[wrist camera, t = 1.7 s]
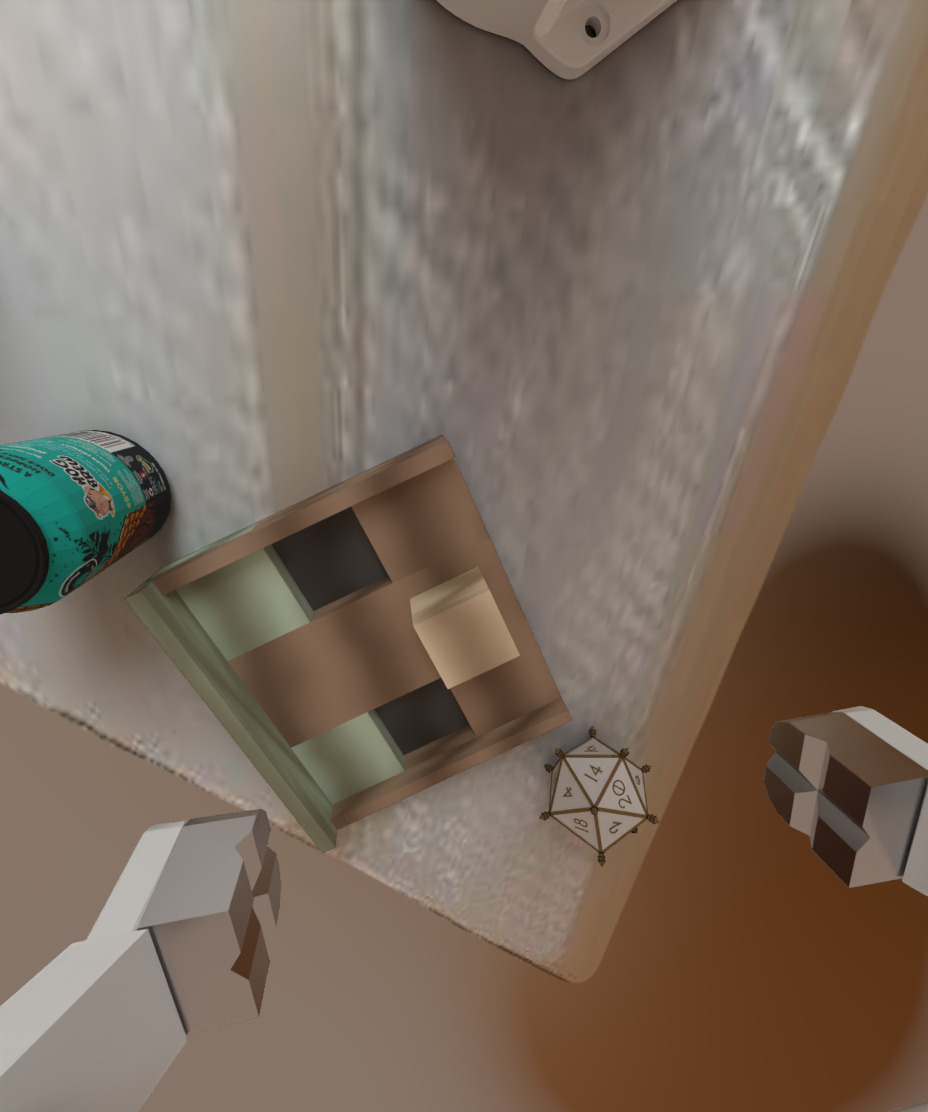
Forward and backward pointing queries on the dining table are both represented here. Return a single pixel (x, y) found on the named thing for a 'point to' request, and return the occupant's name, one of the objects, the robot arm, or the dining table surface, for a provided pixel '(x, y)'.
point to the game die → (598, 794)
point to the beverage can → (72, 512)
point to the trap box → (349, 642)
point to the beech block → (462, 628)
